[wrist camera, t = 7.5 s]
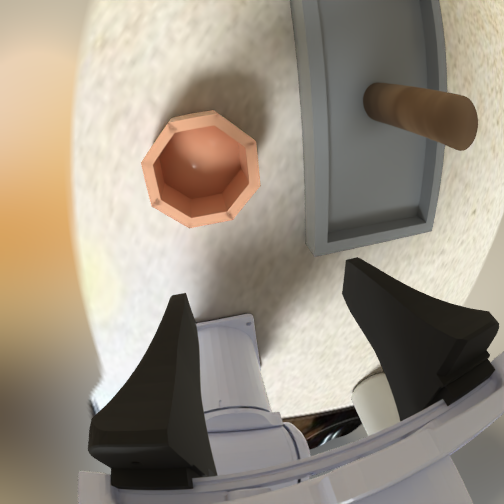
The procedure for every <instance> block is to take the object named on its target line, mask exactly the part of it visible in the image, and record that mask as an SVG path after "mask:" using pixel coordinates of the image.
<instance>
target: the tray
mask: <svg viewBox="0 0 504 504" xmlns="http://www.w3.org/2000/svg"><path fill="white" fill-rule="evenodd" d="M290 5H291V12H292V20H293V29H294V38H295V47H296V57H297V67H298V78H299V90H300V104H301V119H302V136H303V156H304V182H305V236H306V245H307V246H308V248H309V249H310V251H311V252H312V254H313V255H314V257H316V256H321V255H326V254H331V253H335V252H340V251H345V250H349V249H354V248H359V247H363V246H368V245H372V244H377V243H381V242H386V241H390V240H395V239H399V238H404V237H408V236H413V235H417V234H422V233H426V232H430V231H432V227H433V223H434V218H435V213H436V207H437V201H438V196H439V189H440V183H441V175H442V167H443V159H444V149H445V145H444V144H442V143H439V142H437V141H434V140H431V139H429V138H426V137H423V136H421V135H418V134H415V133H412V132H409V131H406V130H403V129H400V128H397V127H394V126H391V125H388V124H385V123H381V122H378V121H375V120H373V119H371V118H370V117H369V116H368V115H367V113H366V111H365V109H364V106H363V96H364V93H365V91H366V89H367V88H368V87H369V86H370V85H371V84H373V83H388V84H397V85H405V86H413V87H419V88H426V89H432V90H437V91H442V92H447V68H446V52H445V40H444V31H443V23H442V16H441V9H440V3H439V0H290Z"/></svg>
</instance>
